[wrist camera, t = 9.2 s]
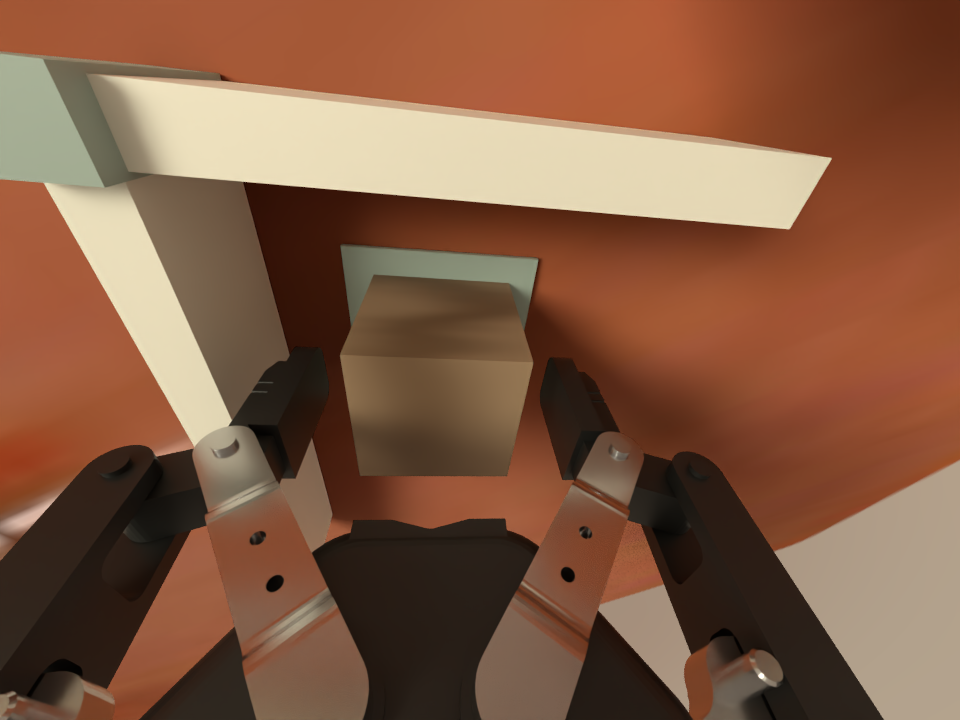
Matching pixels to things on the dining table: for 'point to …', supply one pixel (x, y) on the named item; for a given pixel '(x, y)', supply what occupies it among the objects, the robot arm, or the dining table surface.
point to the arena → (328, 165)
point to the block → (435, 377)
